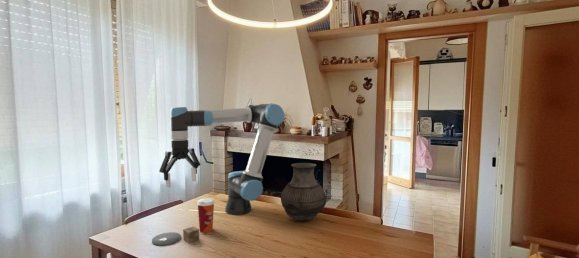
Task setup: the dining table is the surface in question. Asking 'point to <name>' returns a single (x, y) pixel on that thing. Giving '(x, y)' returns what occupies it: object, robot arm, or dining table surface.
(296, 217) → the vase
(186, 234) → the walnut cube
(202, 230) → the coffee cup
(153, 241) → the slate coaster
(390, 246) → the dining table surface
